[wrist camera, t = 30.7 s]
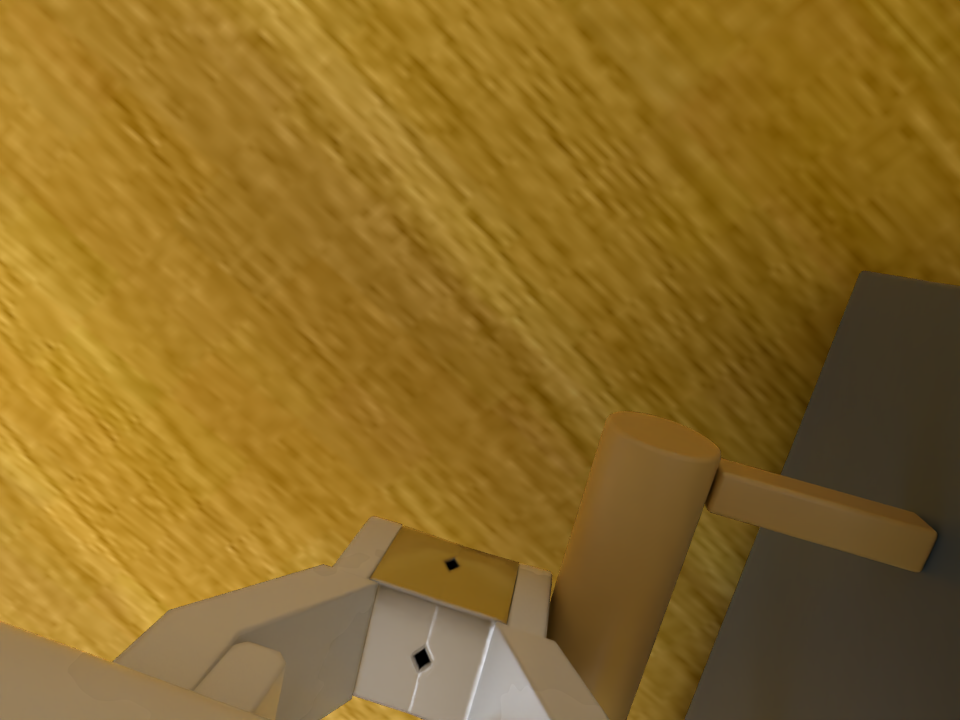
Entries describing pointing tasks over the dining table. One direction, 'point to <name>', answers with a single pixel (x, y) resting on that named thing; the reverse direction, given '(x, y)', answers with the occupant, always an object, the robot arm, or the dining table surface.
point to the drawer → (794, 536)
